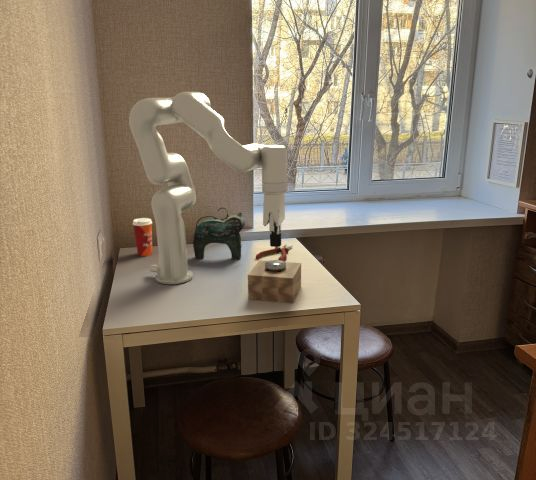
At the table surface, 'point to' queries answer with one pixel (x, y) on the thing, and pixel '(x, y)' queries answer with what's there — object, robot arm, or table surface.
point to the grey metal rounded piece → (275, 265)
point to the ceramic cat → (219, 234)
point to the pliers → (282, 249)
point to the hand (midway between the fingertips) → (275, 245)
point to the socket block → (274, 283)
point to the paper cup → (143, 236)
